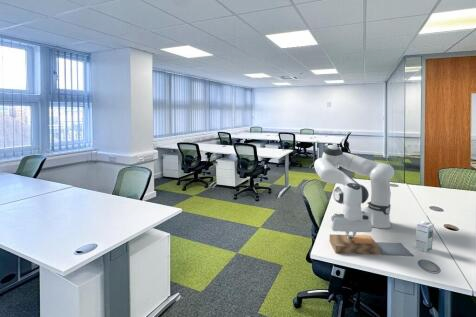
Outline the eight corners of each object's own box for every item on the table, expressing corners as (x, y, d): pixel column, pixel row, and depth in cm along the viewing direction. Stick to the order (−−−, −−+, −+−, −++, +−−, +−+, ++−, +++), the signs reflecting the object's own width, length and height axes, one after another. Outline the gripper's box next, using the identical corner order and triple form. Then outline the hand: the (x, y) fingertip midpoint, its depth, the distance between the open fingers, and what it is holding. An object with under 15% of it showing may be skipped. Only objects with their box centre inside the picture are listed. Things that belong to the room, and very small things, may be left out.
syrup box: (426, 252, 147) (429, 226, 145) (414, 248, 152) (416, 222, 150) (431, 250, 150) (434, 223, 148) (419, 245, 155) (422, 220, 153)
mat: (380, 254, 145) (380, 254, 145) (370, 242, 159) (370, 241, 159) (413, 256, 144) (413, 255, 143) (400, 243, 157) (400, 243, 157)
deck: (335, 253, 147) (335, 245, 146) (329, 241, 161) (329, 234, 160) (379, 254, 145) (380, 247, 144) (369, 242, 159) (370, 235, 158)
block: (354, 243, 149) (355, 239, 149) (351, 238, 155) (351, 234, 155) (372, 243, 149) (372, 240, 148) (368, 238, 154) (368, 235, 154)
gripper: (333, 215, 148) (331, 240, 150) (373, 216, 146) (372, 242, 148) (330, 211, 154) (329, 235, 156) (369, 212, 152) (367, 237, 155)
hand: (350, 238), depth 152 cm, fingers closed
